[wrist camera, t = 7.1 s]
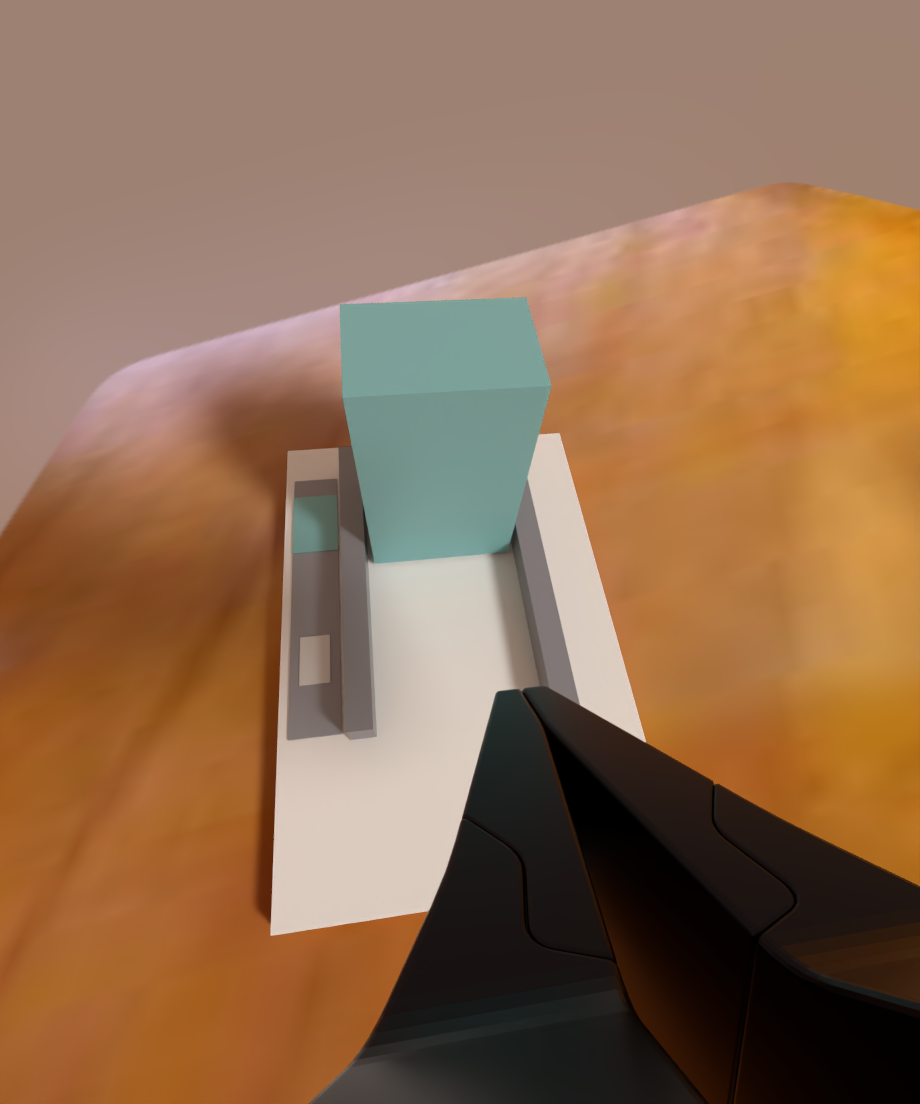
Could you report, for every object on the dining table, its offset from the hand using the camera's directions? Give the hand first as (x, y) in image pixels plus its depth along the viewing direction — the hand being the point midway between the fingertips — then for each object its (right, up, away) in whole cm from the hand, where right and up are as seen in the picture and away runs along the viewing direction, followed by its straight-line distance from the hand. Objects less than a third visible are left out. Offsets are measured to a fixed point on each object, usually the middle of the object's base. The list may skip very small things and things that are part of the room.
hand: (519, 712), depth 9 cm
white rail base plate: (-1, -1, +15) cm, 15 cm away
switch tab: (-2, +4, +16) cm, 17 cm away
